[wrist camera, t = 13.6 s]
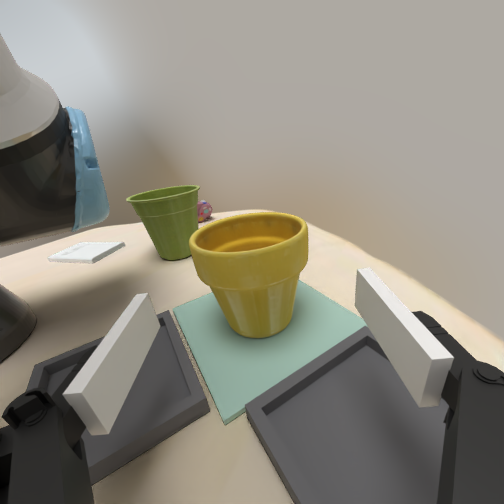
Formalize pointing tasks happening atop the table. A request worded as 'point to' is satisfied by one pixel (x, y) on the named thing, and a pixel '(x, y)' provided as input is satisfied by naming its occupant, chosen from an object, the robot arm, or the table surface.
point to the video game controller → (203, 210)
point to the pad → (260, 346)
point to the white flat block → (86, 252)
